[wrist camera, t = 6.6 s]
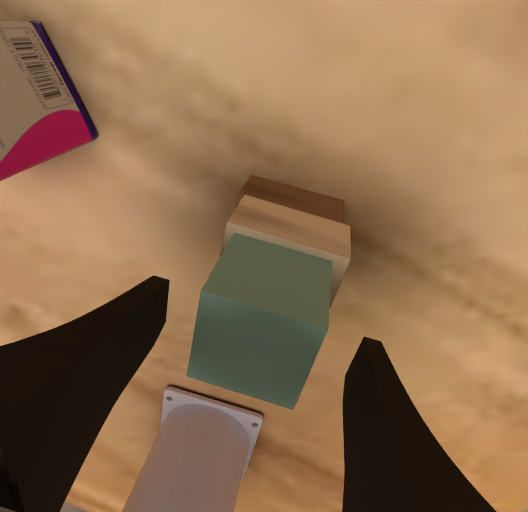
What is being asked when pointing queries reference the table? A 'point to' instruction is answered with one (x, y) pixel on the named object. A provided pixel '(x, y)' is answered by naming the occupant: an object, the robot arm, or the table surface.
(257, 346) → the teal cube
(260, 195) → the tower base block
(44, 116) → the supplement box
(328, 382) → the table surface
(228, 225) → the tower top block
